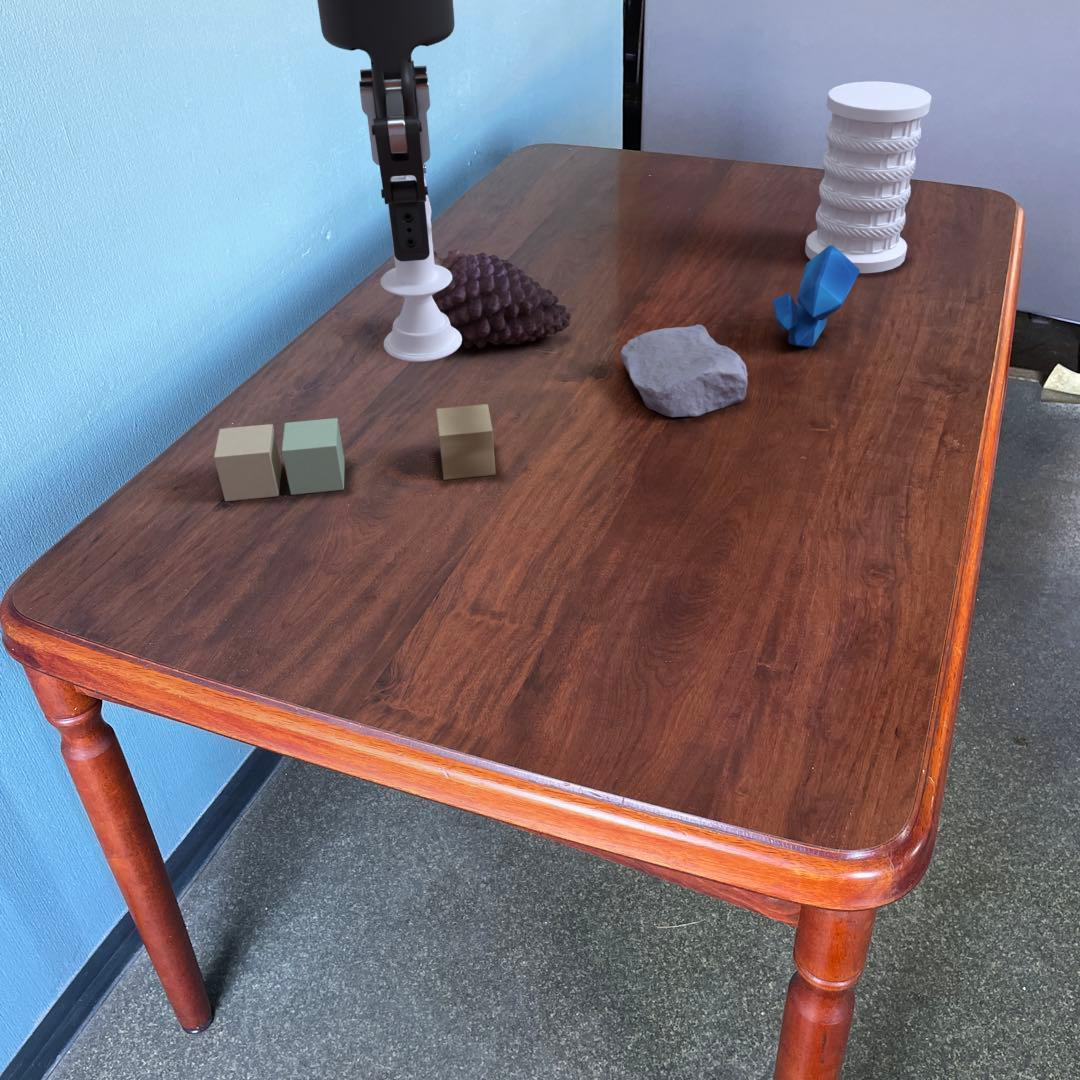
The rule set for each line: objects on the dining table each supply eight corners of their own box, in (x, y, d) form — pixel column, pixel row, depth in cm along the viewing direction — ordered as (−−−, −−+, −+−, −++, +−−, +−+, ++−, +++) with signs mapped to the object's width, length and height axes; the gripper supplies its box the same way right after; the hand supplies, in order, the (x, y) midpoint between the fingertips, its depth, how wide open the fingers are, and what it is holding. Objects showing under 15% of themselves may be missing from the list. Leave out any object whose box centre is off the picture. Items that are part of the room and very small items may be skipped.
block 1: (225, 501, 91) (213, 457, 88) (230, 472, 94) (219, 428, 92) (278, 496, 91) (269, 451, 88) (282, 467, 95) (272, 423, 92)
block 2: (290, 495, 91) (281, 450, 88) (293, 466, 95) (284, 422, 92) (344, 490, 92) (336, 445, 89) (344, 461, 95) (337, 417, 92)
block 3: (443, 480, 92) (438, 435, 90) (440, 452, 96) (436, 408, 93) (495, 475, 93) (492, 430, 90) (490, 447, 96) (487, 403, 94)
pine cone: (573, 313, 117) (588, 260, 108) (550, 391, 113) (563, 342, 104) (416, 266, 116) (418, 209, 107) (388, 342, 113) (388, 290, 104)
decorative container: (786, 256, 127) (804, 98, 116) (836, 227, 134) (858, 74, 123) (875, 282, 121) (903, 117, 110) (923, 249, 128) (954, 91, 117)
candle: (429, 317, 76) (412, 147, 69) (478, 343, 73) (465, 168, 66) (368, 343, 74) (343, 170, 66) (416, 371, 71) (396, 193, 63)
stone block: (663, 440, 99) (758, 399, 101) (655, 397, 96) (752, 355, 98) (611, 386, 108) (698, 349, 110) (601, 345, 105) (691, 307, 107)
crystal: (764, 293, 104) (795, 222, 111) (761, 361, 111) (790, 291, 117) (841, 304, 101) (868, 231, 108) (833, 374, 108) (860, 301, 115)
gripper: (316, -72, 64) (355, 213, 74) (301, -28, 53) (350, 300, 63) (443, -79, 64) (464, 206, 75) (455, -37, 53) (477, 290, 64)
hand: (412, 247), depth 69 cm, fingers closed on candle, 2 cm apart
